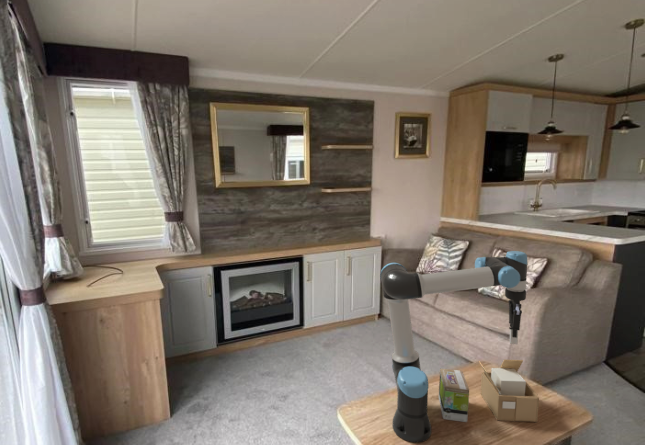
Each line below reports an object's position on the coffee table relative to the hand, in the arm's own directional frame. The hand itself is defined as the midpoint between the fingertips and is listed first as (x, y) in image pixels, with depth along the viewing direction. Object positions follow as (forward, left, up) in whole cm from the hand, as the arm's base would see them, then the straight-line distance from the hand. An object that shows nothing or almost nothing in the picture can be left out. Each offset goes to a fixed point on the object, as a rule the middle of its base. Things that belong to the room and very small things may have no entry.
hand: (513, 343), depth 143 cm
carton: (+1, +4, -32) cm, 32 cm away
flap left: (-9, +1, -16) cm, 18 cm away
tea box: (-24, +1, -32) cm, 40 cm away
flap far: (+4, +9, -16) cm, 18 cm away
